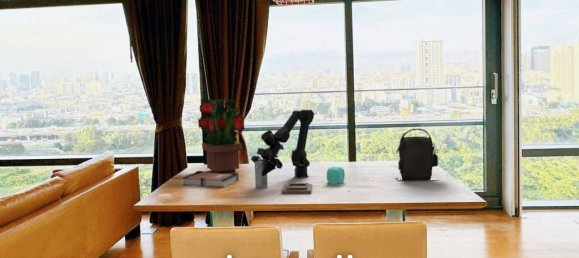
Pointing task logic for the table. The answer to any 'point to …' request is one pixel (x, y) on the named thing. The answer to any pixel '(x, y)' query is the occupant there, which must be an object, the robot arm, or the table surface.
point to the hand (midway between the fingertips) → (259, 175)
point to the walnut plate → (297, 188)
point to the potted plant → (221, 134)
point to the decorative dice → (335, 175)
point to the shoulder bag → (416, 157)
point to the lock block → (260, 175)
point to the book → (210, 179)
